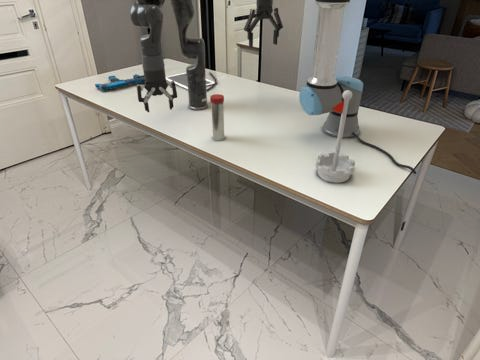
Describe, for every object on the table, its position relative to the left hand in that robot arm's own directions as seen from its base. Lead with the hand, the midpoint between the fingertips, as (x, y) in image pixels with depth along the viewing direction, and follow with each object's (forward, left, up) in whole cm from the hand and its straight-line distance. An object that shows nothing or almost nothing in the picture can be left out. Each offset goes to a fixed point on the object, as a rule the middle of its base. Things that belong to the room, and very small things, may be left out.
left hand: (159, 110), depth 129 cm
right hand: (-37, +57, +13) cm, 69 cm away
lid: (0, +23, +2) cm, 23 cm away
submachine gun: (-92, -11, -15) cm, 94 cm away
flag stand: (+41, +53, -15) cm, 69 cm away
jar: (0, +23, -15) cm, 28 cm away
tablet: (-84, +27, -15) cm, 89 cm away
